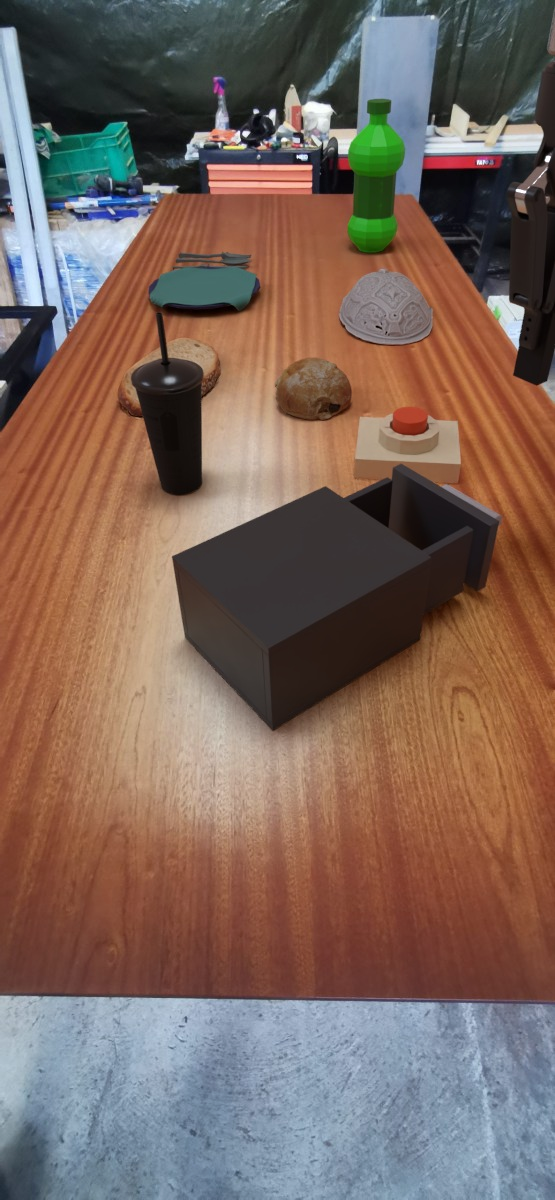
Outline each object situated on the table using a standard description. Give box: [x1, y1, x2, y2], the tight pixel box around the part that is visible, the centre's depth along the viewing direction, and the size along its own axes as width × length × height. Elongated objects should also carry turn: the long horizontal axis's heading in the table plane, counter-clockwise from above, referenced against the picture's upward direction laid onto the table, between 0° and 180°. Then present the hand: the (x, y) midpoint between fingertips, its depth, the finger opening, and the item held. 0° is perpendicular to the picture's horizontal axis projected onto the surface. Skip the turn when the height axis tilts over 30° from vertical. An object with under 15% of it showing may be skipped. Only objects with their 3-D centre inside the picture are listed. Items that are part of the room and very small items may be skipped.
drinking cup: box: [131, 311, 204, 496], centre depth 80 cm, size 8×8×20 cm
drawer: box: [343, 464, 503, 616], centre depth 69 cm, size 20×12×8 cm, turn 127°
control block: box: [353, 413, 462, 484], centre depth 88 cm, size 12×10×4 cm
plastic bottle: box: [347, 98, 406, 254], centre depth 140 cm, size 10×10×25 cm
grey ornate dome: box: [338, 267, 434, 346], centre depth 121 cm, size 16×25×7 cm, turn 178°
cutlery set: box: [147, 251, 261, 312], centre depth 135 cm, size 20×30×2 cm, turn 176°
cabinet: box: [171, 486, 432, 731], centre depth 64 cm, size 17×14×10 cm
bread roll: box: [274, 357, 353, 421], centre depth 99 cm, size 10×10×8 cm
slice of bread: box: [116, 337, 222, 417], centre depth 105 cm, size 18×18×4 cm
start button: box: [392, 406, 429, 436], centre depth 86 cm, size 4×4×2 cm
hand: (530, 378), depth 67 cm, fingers closed
